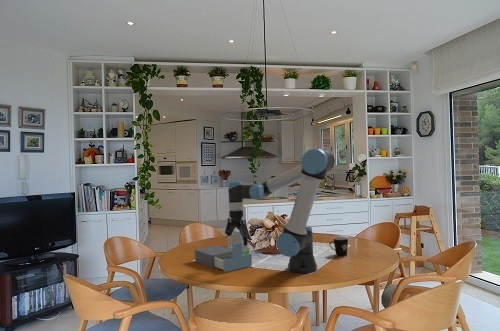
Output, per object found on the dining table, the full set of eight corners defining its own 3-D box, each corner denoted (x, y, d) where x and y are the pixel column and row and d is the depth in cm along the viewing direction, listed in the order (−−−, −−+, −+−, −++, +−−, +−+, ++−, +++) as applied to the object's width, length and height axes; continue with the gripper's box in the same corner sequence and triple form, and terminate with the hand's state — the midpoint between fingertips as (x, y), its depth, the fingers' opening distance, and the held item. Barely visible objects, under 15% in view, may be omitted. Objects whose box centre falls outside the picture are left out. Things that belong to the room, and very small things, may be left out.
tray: (252, 265, 194) (251, 241, 194) (224, 272, 183) (223, 246, 183) (232, 259, 210) (231, 236, 210) (205, 265, 199) (204, 241, 199)
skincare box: (241, 257, 215) (240, 231, 216) (233, 256, 219) (232, 231, 220) (250, 254, 222) (249, 229, 222) (241, 253, 226) (241, 228, 226)
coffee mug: (347, 253, 216) (346, 236, 216) (350, 256, 207) (349, 239, 208) (328, 253, 217) (327, 237, 217) (330, 256, 209) (329, 239, 209)
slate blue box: (239, 262, 204) (239, 250, 204) (212, 268, 193) (212, 255, 193) (221, 256, 220) (220, 245, 220) (195, 261, 209) (194, 249, 209)
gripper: (255, 210, 182) (257, 252, 181) (229, 207, 202) (230, 245, 201) (243, 212, 177) (245, 254, 177) (217, 209, 197) (219, 247, 197)
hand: (237, 249), depth 189 cm, fingers open, 13 cm apart
